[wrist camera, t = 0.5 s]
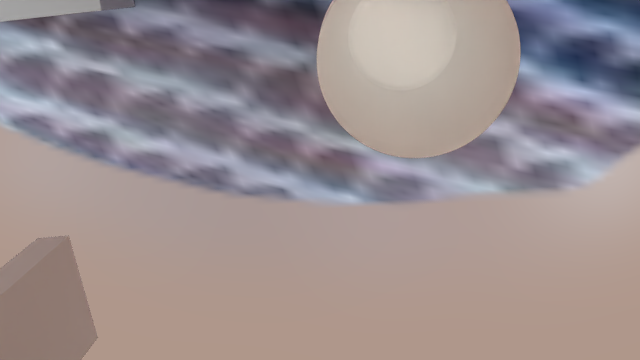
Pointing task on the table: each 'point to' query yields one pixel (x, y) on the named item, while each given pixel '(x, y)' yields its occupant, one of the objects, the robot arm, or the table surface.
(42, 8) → the socket block
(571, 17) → the table surface
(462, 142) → the cup
